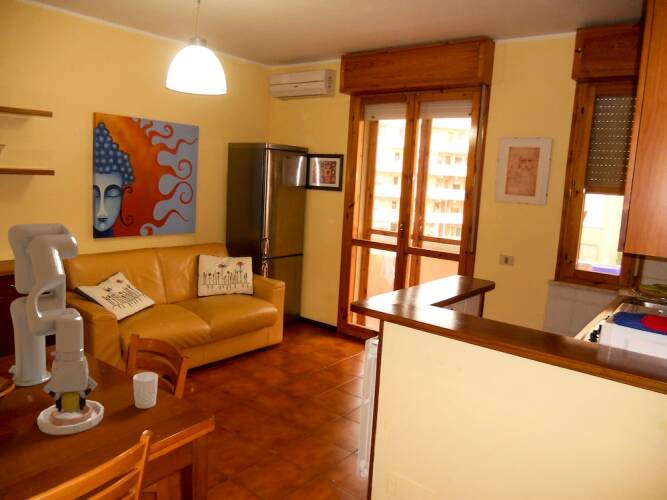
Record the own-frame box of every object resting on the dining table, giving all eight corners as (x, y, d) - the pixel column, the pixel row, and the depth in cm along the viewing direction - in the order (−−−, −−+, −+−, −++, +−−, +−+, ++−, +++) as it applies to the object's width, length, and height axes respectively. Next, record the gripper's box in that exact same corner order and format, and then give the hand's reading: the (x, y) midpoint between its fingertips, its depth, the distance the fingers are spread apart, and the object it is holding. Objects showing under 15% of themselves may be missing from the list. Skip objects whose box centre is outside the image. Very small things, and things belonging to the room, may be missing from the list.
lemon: (84, 410, 158) (84, 386, 157) (74, 418, 153) (73, 393, 152) (68, 408, 159) (67, 384, 158) (57, 416, 153) (56, 392, 152)
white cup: (162, 401, 172) (162, 374, 171) (147, 411, 165) (147, 382, 163) (144, 397, 174) (144, 370, 173) (128, 406, 167) (127, 378, 166)
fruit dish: (24, 429, 149) (23, 420, 149) (68, 403, 167) (67, 395, 166) (75, 439, 146) (75, 429, 145) (115, 411, 163) (115, 403, 163)
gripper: (35, 360, 147) (37, 417, 150) (98, 357, 152) (99, 412, 155) (41, 351, 154) (43, 406, 157) (102, 348, 159) (102, 401, 162)
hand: (71, 408), depth 156 cm, fingers closed on lemon, 5 cm apart
